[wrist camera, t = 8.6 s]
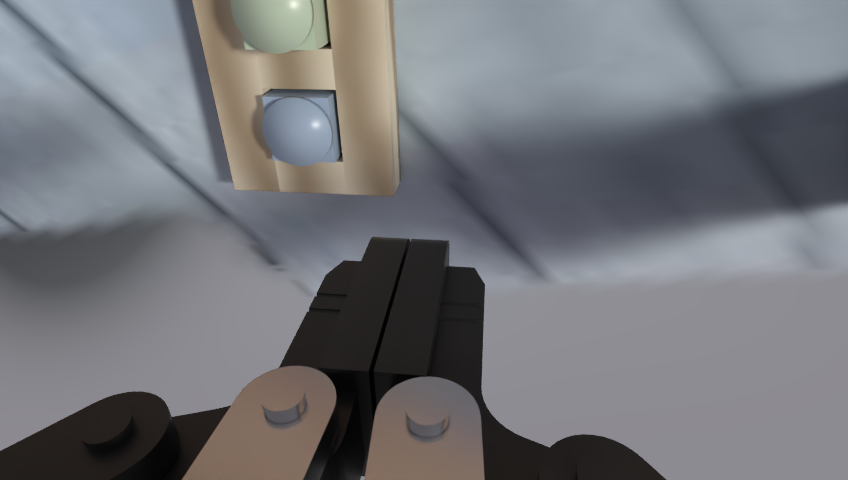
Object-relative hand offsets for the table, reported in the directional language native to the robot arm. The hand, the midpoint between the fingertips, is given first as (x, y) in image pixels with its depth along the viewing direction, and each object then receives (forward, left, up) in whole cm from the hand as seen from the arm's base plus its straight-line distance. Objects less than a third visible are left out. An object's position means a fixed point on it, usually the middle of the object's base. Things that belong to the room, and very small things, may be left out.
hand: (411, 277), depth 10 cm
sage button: (+11, -3, -25) cm, 27 cm away
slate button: (+11, +5, -26) cm, 28 cm away
